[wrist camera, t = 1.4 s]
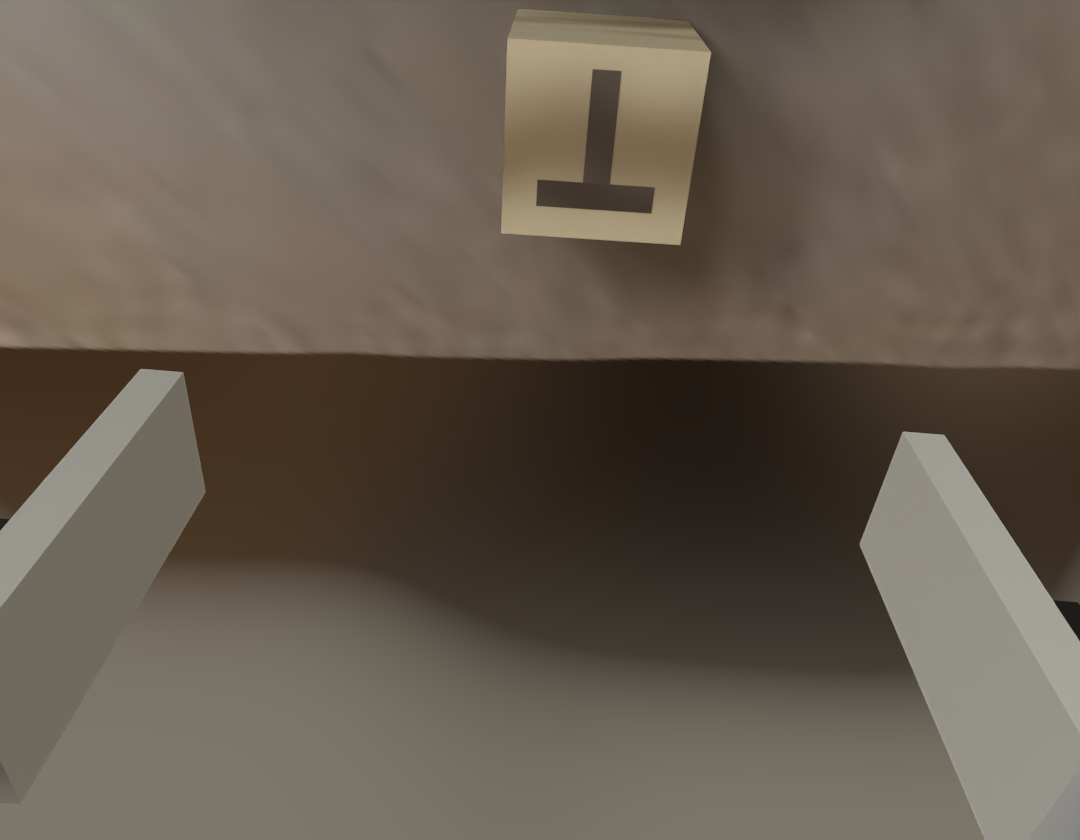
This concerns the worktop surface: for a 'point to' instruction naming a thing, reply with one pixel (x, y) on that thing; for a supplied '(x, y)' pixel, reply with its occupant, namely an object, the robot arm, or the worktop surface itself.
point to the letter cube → (601, 125)
